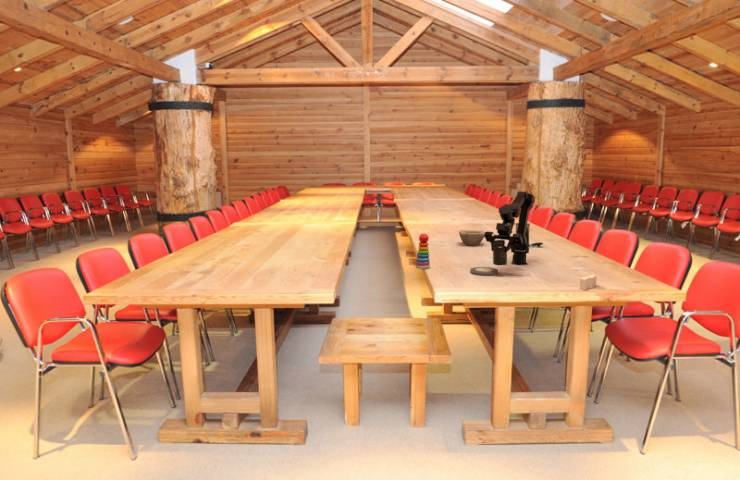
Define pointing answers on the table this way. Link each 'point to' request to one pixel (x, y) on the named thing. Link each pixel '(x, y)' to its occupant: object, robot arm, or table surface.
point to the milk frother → (528, 235)
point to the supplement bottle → (499, 253)
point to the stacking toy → (423, 253)
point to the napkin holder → (588, 282)
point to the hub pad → (484, 271)
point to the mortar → (471, 237)
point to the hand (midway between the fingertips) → (498, 251)
